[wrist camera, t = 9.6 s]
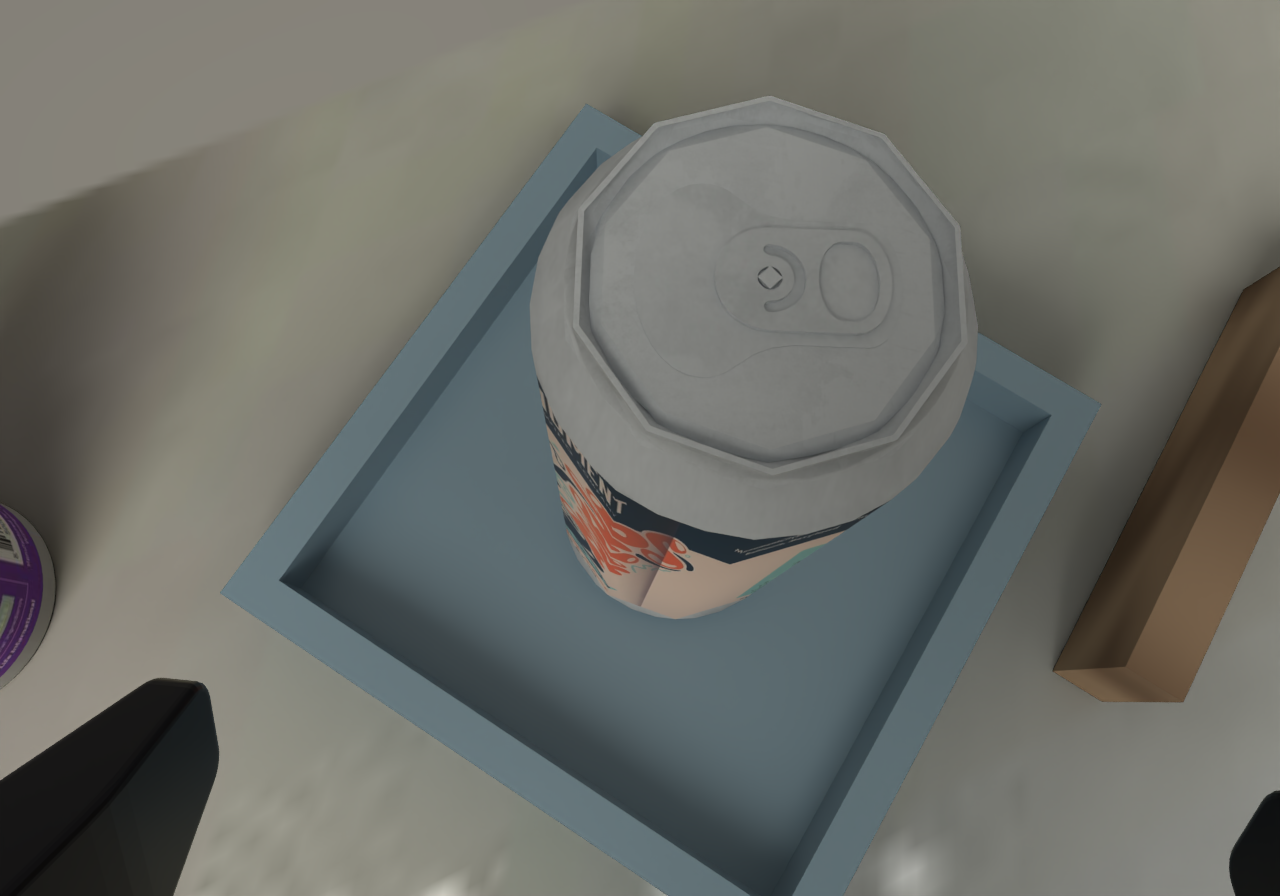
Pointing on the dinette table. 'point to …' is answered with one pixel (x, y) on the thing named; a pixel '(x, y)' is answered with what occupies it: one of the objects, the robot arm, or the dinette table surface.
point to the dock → (1190, 522)
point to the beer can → (744, 348)
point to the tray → (631, 640)
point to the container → (22, 592)
